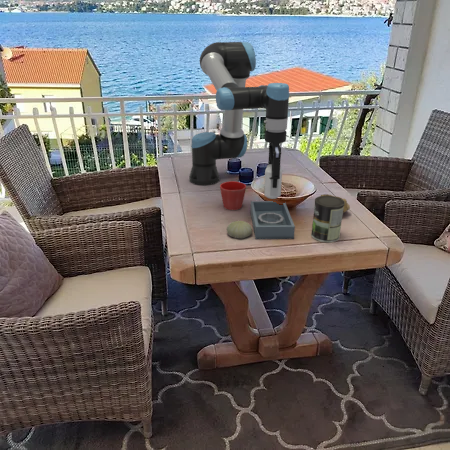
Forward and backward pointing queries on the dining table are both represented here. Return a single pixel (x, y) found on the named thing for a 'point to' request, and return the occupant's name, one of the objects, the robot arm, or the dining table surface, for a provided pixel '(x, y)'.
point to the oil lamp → (346, 205)
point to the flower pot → (232, 194)
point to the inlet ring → (270, 215)
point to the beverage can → (268, 182)
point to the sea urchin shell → (239, 229)
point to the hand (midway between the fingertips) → (272, 191)
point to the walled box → (271, 231)
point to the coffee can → (327, 218)
